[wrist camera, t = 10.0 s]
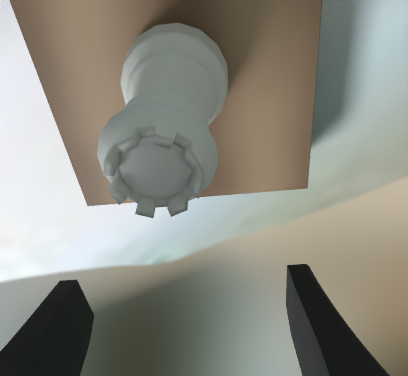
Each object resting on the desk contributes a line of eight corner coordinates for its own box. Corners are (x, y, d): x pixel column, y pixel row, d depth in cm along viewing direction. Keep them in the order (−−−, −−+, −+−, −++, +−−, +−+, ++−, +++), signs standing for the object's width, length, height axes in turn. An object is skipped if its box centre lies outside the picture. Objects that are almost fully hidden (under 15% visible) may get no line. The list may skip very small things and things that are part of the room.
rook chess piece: (148, -3, 14) (93, 54, 7) (247, 53, 15) (279, 146, 8) (110, 96, 16) (42, 208, 9) (199, 138, 17) (193, 263, 10)
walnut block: (101, 176, 22) (87, 206, 20) (23, -57, 15) (-12, -56, 13) (295, 159, 21) (307, 188, 19) (309, -96, 14) (330, -104, 12)
